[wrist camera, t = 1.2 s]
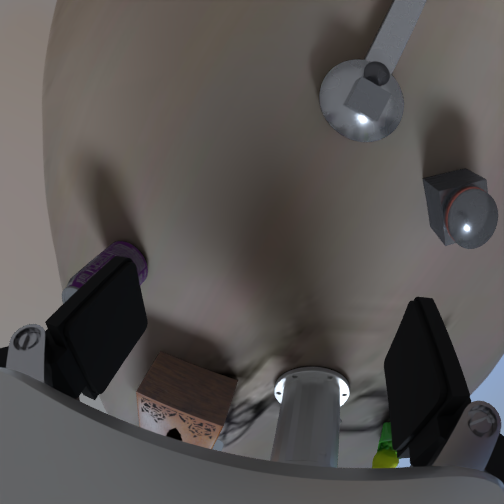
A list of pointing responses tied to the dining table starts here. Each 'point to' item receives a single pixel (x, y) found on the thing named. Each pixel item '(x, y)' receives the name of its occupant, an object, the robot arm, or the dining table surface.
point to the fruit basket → (385, 450)
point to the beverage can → (102, 259)
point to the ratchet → (371, 80)
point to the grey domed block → (460, 208)
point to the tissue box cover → (184, 401)
